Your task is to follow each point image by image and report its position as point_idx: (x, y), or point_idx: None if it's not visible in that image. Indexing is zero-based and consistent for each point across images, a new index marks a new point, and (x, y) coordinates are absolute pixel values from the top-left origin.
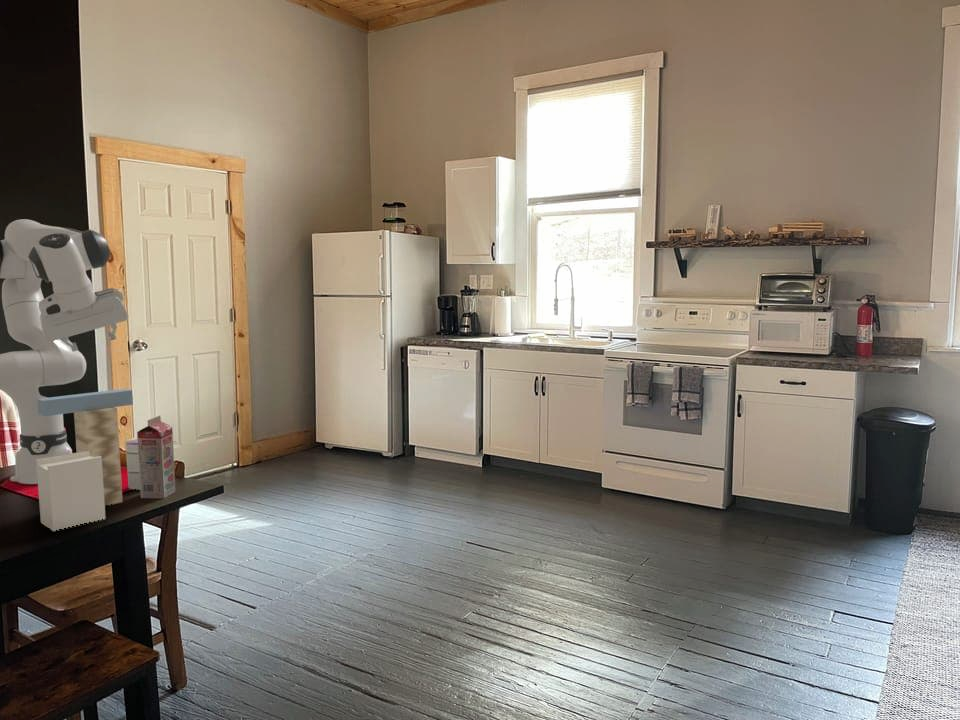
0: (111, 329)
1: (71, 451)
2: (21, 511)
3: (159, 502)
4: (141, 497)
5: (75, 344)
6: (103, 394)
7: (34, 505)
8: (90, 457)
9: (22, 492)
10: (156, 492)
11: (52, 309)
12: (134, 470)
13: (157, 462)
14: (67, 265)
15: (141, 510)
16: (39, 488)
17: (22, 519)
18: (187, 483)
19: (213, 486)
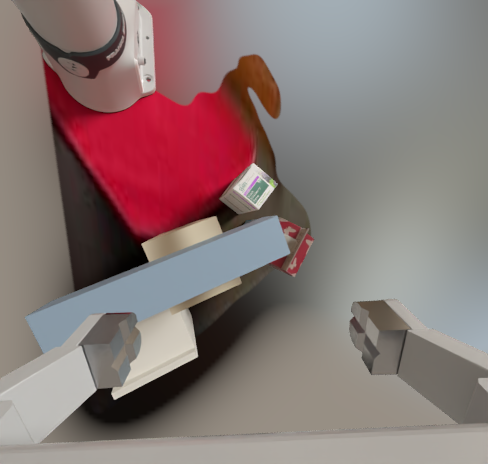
0: (433, 344)
1: (136, 17)
2: (85, 242)
3: (250, 274)
4: None
5: (115, 380)
6: (220, 284)
7: (100, 220)
8: (179, 318)
9: (74, 142)
10: None
11: None
12: (232, 203)
13: (267, 264)
14: None
15: (230, 298)
16: None
17: (91, 280)
18: (285, 206)
19: (309, 234)
